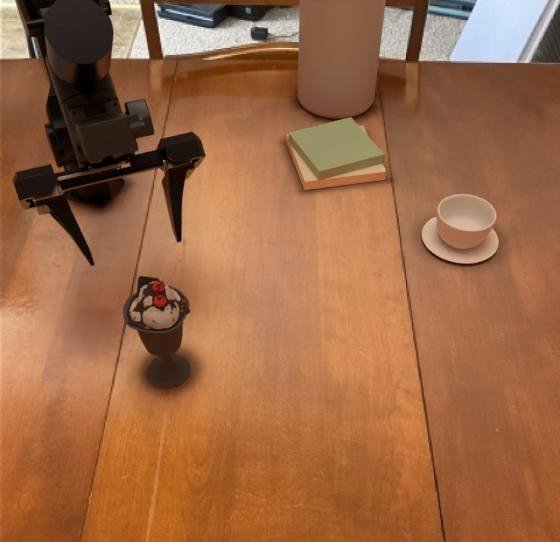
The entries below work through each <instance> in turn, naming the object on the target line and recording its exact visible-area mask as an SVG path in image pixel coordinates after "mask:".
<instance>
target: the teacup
mask: <svg viewBox="0 0 560 542" xmlns="http://www.w3.org/2000/svg"><path fill="white" fill-rule="evenodd" d="M497 217H498V215H497V211H496V209H495V207H494V206H493V205H492V204H491V203H490V202H489V201H487V199H484V198H482V197H479V196H477V195H473V194H467V193H457V194H453V195H452V194H451V195H448V196H446V197H444V198H443V199H442V200H441V201H439V203H438V205H437V209H436V216H434V217H432V218H431V219H429V220H428V221H426V223H425V224H424V225H423V227H422V229H421V239H422V241H423V243H424V245H425V247H426V248H427V249H428V250H429V251H430V252H432V254H434V255H435V256H437V257H439V258H441V259H443V260H445V261H448V262H453V263H457V264H477V263H479V262H483V261H485V260H488V259H489V258H491V257H492V256H493V255H495V253H496V252H497V250H498V248H499V237H498V234H497V233H496V231H495V229H494V228H493V227H494V225H495V223H496V221H497Z"/></svg>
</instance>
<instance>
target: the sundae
mask: <svg viewBox="0 0 560 542" xmlns="http://www.w3.org/2000/svg"><path fill="white" fill-rule="evenodd" d="M190 307H191V305H190V301H189V299H188V297H187V296H186V295H185V294H184V293H183V292H182V291H181V290H180V289H178V288H176V287H174V286H172V285H167V283H165V281H163V280H160V278H159V277H155V276H149V275H148V276H145V275H139V276H137V283H136V292H134V293H132V294H131V295H129V297H128V298H127V299H126V301H125V302H124V305H123V307H122V315H123V320H124V323H125V324H126V325H127V327H129V328H130V329H132V330H135V331H137V335H138V337H139V339H140V341H141V343H142V345H143V347H144V348H145V350H146V352H148V353H149V354H150V355H152V356H155V357H154V358H153V359H152V360H151V361H150V362H149V363H148V365H147V368H146V377H147V379H148V381H149V382H150V383H151V384H152V385H154V386H156V387H157V388H163V389H168V388H175V387H178V386H180V385H182V384H184V383H185V382H186V381H187V379H189V377H190V374H191V372H192V365H191V363H190V361H189V360H188V358H186V357H185V356H184V355H181V354H179V353H176V352H178V351H179V349H180V348H181V345H182V342H183V336H184V321H185V319H187V317H188V315H189V314H190V313H191V309H190Z"/></svg>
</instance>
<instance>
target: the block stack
mask: <svg viewBox="0 0 560 542" xmlns="http://www.w3.org/2000/svg"><path fill="white" fill-rule="evenodd" d="M286 145H287V147H288V151H289V153H290V156H291V158H292V161H293V163H294V167H295V169H296V172H297V174H298V177H299V180H300V182H301V185H302V188H303V190H304V191H309V190H318V189H325V188H334V187H341V186H348V185H356V184H363V183H371V182H372V183H373V182H378V181H385V180H386V177H387V169H386V167H385V166H384V162H385V156H386V154H385V153H384V151H383V150H382V149H381V148H380V147H379V146H378V145H377V143H376V142H375V141H374V140H373V139H372V138H371V137H370V136H369V135H368V133H367V130H366V128H365V126H364V125H359V124H358V123H357V122H356V121H355V120H354V119H353V117H349V118H341V119H337V120H334V121H331V122H326V123H321V124H318V125H313V126H310V127H306V128H301V129H297V130H294V131H290V132H288V133H287V134H286Z"/></svg>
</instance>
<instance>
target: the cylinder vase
mask: <svg viewBox="0 0 560 542" xmlns="http://www.w3.org/2000/svg"><path fill="white" fill-rule="evenodd" d="M386 3H387V0H299V9H298V10H299V11H298V12H299V14H298V16H299V17H298V56H297V57H298V58H297V100H298V102H299V104H300V105H301V106H302V107H303V108H304V109H305V110H306V111H308V112H309V113H311V114H313V115H316V116H318V117H321V118H326V119H346V118H350V117H351V118H353V117H356V116H359V115H361V114H363V113H364V112H366V111H367V110H368V109H370V107H372V105H373V103H374V101H375V95H376V88H377V80H378V79H377V78H378V71H379V70H378V69H379V63H380V53H381V46H382V36H383V30H384V29H383V28H384V19H385V12H386V5H387V4H386Z"/></svg>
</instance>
